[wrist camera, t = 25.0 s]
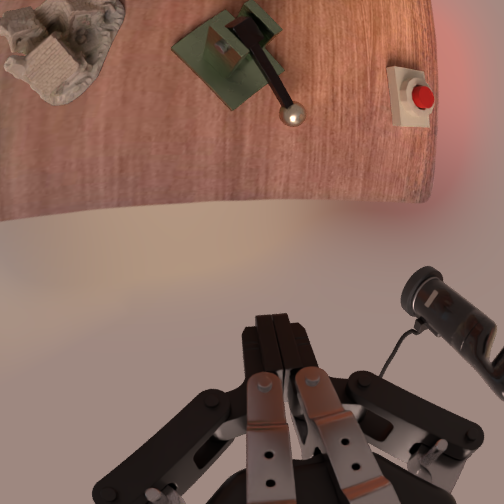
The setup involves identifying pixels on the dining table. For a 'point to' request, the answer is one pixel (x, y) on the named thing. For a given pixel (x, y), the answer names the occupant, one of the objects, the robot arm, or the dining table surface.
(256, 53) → the lever
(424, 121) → the stop station
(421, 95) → the stop button
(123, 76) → the dining table surface
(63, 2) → the ceramic cottage
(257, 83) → the switch bracket
